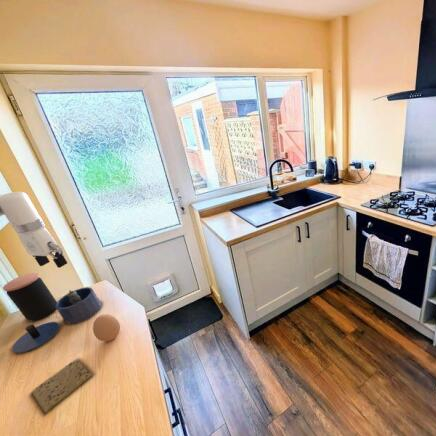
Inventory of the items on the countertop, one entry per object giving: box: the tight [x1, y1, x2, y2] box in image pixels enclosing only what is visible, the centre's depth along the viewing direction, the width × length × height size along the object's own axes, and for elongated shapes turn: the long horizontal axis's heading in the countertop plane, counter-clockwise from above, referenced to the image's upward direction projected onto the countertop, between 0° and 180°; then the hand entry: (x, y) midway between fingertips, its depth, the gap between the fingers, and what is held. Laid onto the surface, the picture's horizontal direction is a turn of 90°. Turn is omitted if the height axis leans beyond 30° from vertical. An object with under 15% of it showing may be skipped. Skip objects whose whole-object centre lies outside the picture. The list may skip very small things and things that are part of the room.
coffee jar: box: [2, 272, 58, 322], centre depth 105 cm, size 11×11×18 cm
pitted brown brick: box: [31, 359, 92, 414], centre depth 77 cm, size 12×12×1 cm
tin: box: [55, 286, 102, 325], centre depth 105 cm, size 13×13×8 cm
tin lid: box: [12, 321, 61, 354], centre depth 95 cm, size 14×14×6 cm
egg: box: [92, 313, 121, 342], centre depth 90 cm, size 8×8×11 cm
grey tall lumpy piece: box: [67, 289, 82, 305], centre depth 104 cm, size 6×6×12 cm
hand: (54, 264), depth 96 cm, fingers open, 9 cm apart
